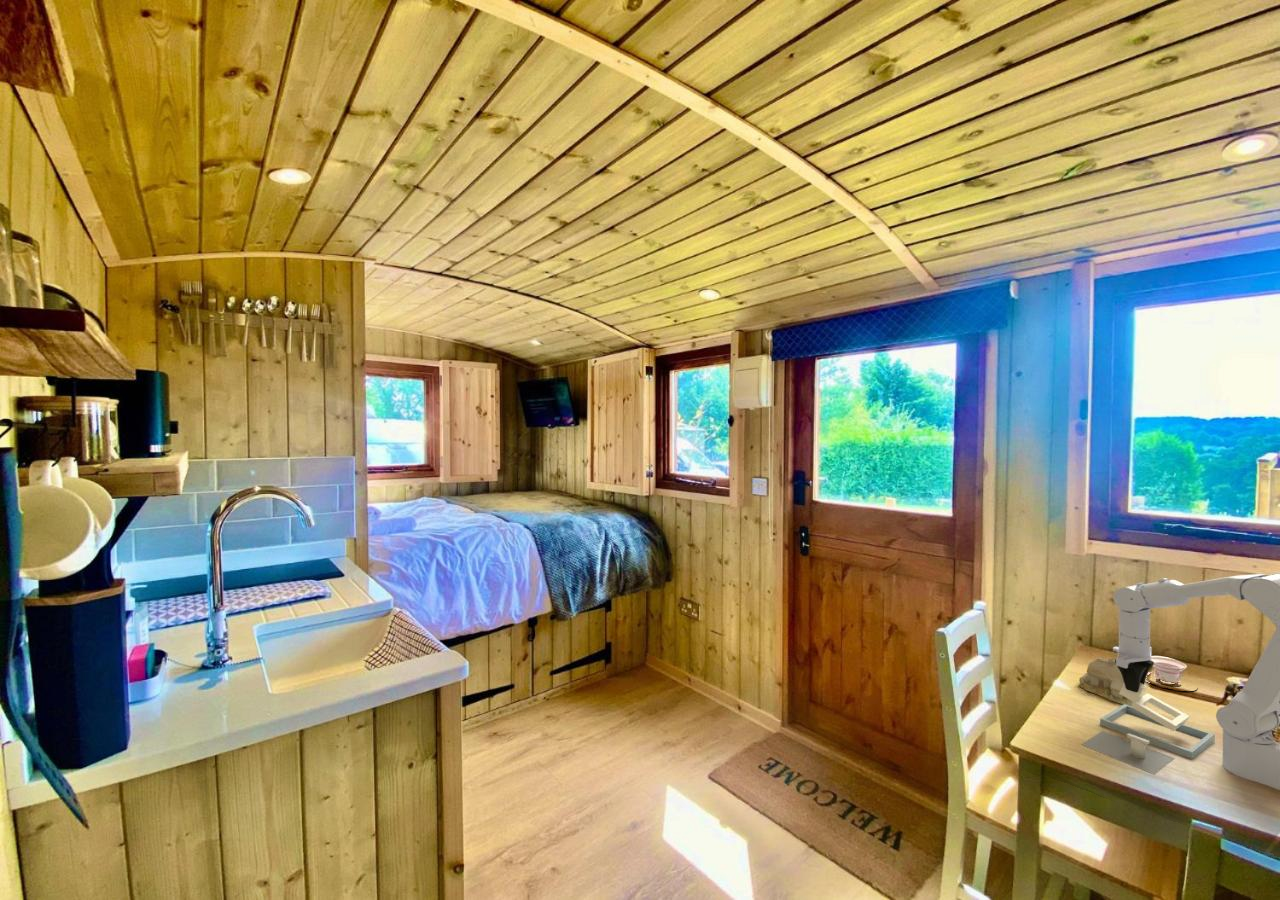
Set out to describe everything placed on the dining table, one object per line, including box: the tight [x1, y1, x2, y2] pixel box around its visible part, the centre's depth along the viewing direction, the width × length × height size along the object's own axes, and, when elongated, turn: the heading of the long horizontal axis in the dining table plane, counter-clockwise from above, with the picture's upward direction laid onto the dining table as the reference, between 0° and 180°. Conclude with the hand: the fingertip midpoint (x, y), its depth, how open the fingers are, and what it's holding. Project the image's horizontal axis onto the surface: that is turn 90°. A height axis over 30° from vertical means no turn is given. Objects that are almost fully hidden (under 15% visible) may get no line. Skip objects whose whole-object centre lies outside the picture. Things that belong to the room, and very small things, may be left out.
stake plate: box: [1080, 730, 1175, 775], centre depth 123 cm, size 13×11×5 cm
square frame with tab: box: [1119, 683, 1190, 732], centre depth 130 cm, size 12×8×4 cm
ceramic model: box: [1079, 657, 1133, 706], centre depth 151 cm, size 14×11×10 cm
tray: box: [1099, 704, 1216, 760], centre depth 130 cm, size 17×14×2 cm
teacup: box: [1145, 655, 1188, 684], centre depth 156 cm, size 12×12×6 cm
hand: (1134, 689), depth 133 cm, fingers closed on square frame with tab, 2 cm apart
